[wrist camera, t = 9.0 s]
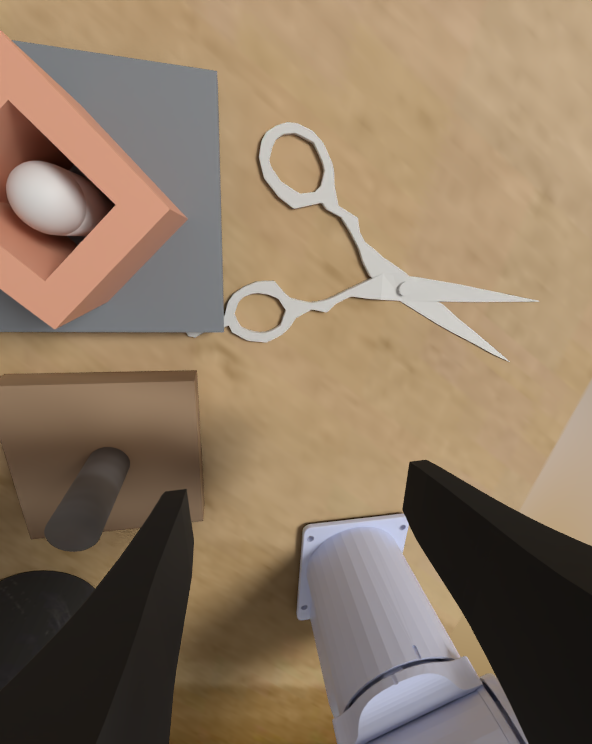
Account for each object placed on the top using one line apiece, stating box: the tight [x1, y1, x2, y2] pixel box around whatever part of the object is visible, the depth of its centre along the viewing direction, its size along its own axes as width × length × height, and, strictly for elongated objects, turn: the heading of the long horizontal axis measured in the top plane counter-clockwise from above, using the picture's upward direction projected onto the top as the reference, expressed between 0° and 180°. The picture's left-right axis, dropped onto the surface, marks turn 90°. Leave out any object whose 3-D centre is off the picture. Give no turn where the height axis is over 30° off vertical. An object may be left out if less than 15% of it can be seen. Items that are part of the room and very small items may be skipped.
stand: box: [0, 370, 205, 552], centre depth 16 cm, size 9×9×6 cm
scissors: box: [186, 122, 537, 361], centre depth 19 cm, size 11×1×20 cm
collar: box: [0, 30, 188, 329], centre depth 11 cm, size 5×5×5 cm
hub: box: [0, 40, 224, 332], centre depth 12 cm, size 10×10×6 cm
